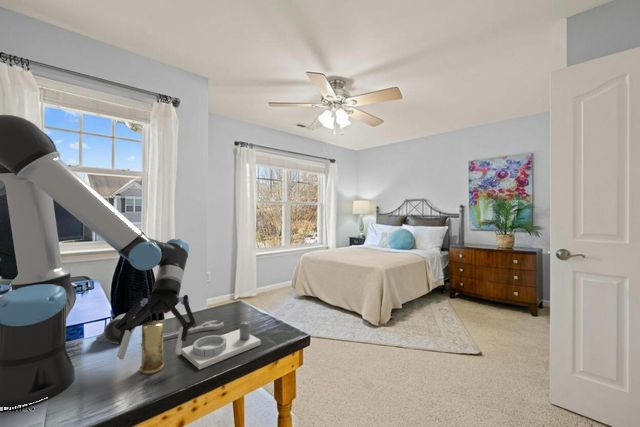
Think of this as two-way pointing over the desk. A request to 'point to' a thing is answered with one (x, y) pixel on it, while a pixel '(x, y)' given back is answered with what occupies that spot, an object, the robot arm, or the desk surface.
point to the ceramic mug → (111, 331)
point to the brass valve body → (152, 347)
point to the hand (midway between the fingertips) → (149, 355)
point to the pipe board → (220, 346)
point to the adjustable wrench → (196, 329)
